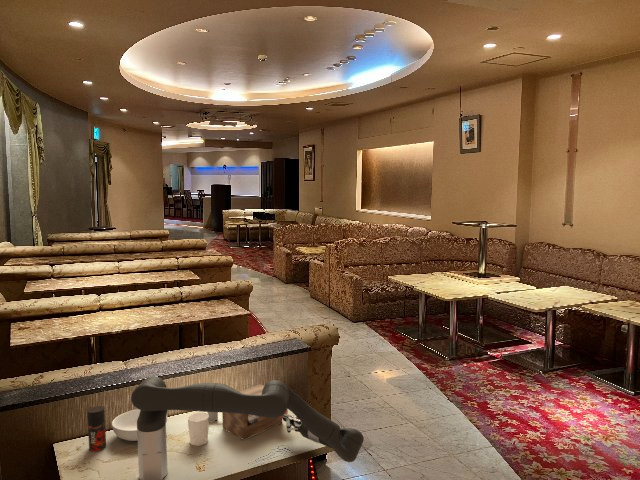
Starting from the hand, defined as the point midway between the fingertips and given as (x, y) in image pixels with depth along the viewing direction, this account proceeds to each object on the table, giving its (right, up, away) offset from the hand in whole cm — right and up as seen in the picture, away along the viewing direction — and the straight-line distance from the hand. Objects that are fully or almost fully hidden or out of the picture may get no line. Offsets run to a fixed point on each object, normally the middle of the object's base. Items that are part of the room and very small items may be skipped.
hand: (284, 416), depth 191 cm
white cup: (-33, -9, -1) cm, 34 cm away
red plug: (-4, -3, +9) cm, 11 cm away
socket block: (-14, -8, +12) cm, 20 cm away
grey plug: (-15, -3, +5) cm, 16 cm away
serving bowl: (-58, -9, +5) cm, 59 cm away
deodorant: (-70, -10, -5) cm, 71 cm away
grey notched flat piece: (-30, -8, +17) cm, 35 cm away
